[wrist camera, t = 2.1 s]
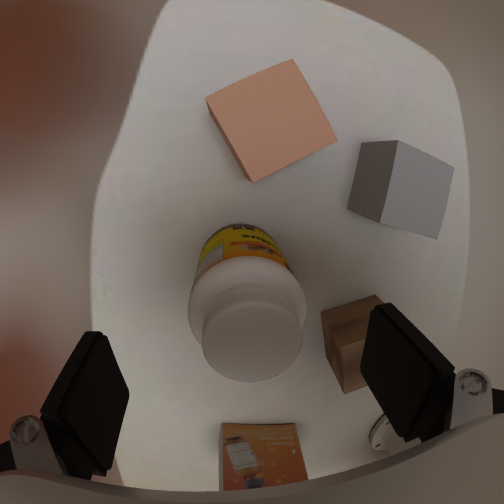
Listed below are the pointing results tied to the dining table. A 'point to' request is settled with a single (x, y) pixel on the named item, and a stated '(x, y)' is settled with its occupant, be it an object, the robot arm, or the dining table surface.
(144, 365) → the dining table surface
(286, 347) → the supplement bottle
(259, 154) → the terracotta block
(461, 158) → the dining table surface
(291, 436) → the small box
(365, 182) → the slate block
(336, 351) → the walnut block
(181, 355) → the dining table surface
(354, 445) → the dining table surface
